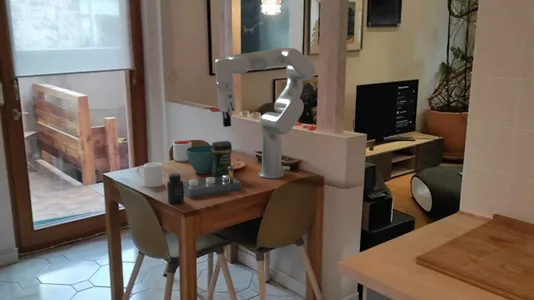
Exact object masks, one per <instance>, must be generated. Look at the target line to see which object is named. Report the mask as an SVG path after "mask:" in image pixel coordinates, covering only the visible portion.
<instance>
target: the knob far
mask: <svg viewBox="0 0 534 300" xmlns="http://www.w3.org/2000/svg"><path fill="white" fill-rule="evenodd" d="M188 181H189V186H190V187H192V186H198V179H190V180H188Z"/></svg>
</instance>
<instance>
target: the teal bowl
mask: <svg viewBox="0 0 534 300" xmlns="http://www.w3.org/2000/svg"><path fill="white" fill-rule="evenodd" d="M186 151H187V156H188V160H189V161H188V162H189V164H190V165H191V167H192V168H193V170H194V171H195V172H196V173H197V174H199V175H210V174H211V175H212V168H213V153H212V145H211V144H205V145H204V144H203V145H202V144H201V145H199V144H198V145H194V146H193V145H192V146H191V147H189V148H187V149H186Z"/></svg>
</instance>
